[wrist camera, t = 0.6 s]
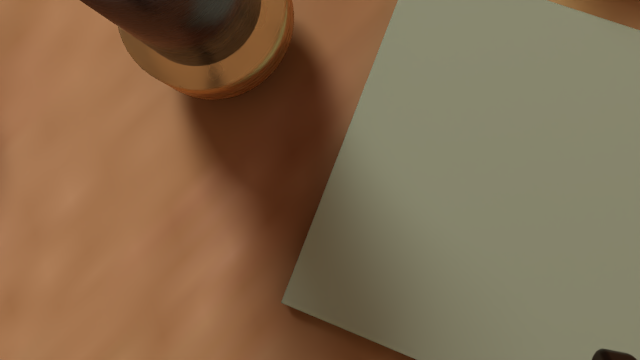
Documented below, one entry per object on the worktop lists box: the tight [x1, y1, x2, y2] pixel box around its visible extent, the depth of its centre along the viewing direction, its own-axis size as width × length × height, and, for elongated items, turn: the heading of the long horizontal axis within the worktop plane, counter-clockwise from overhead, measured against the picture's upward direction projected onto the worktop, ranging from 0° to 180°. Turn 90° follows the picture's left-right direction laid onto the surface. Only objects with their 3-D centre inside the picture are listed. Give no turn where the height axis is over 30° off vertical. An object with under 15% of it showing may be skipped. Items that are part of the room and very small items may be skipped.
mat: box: [281, 0, 640, 360], centre depth 21 cm, size 13×13×1 cm
